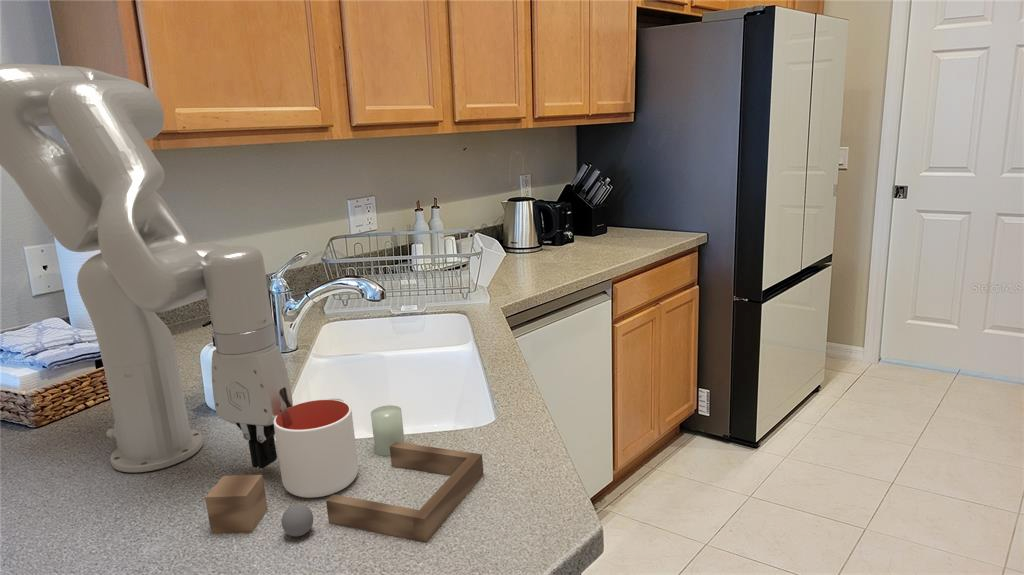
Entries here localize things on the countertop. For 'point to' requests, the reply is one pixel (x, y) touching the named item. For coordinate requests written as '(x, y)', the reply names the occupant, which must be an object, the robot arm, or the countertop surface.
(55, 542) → the countertop surface
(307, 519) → the grey ball
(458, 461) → the bay
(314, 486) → the cup
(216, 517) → the walnut block
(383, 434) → the jar
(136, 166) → the robot arm
